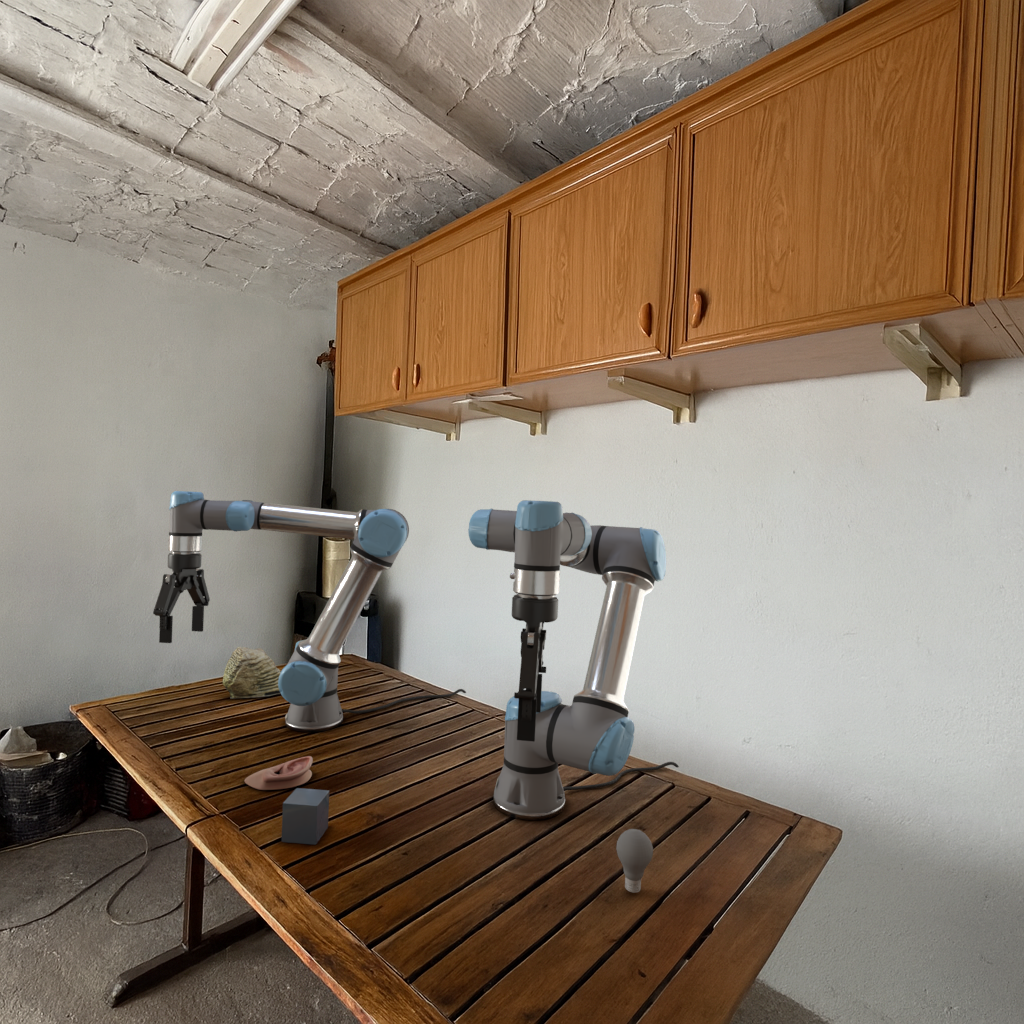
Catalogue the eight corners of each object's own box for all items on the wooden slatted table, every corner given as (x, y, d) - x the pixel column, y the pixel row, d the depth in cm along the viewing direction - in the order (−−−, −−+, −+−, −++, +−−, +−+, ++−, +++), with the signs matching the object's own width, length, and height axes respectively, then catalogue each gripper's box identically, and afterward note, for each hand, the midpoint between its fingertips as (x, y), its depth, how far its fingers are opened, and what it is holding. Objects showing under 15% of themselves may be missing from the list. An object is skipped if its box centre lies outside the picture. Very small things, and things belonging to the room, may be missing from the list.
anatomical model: (236, 768, 136) (267, 748, 147) (235, 786, 136) (266, 765, 148) (292, 776, 134) (319, 755, 145) (291, 794, 134) (319, 772, 145)
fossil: (218, 695, 195) (220, 647, 195) (278, 685, 208) (279, 640, 207) (228, 703, 189) (230, 653, 188) (289, 692, 201) (290, 645, 201)
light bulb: (610, 879, 108) (613, 822, 108) (644, 879, 109) (647, 822, 109) (619, 902, 102) (622, 840, 102) (655, 901, 103) (658, 840, 103)
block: (295, 824, 122) (296, 787, 122) (328, 827, 122) (329, 790, 122) (281, 842, 116) (282, 802, 116) (315, 844, 115) (317, 805, 115)
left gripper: (198, 548, 172) (195, 626, 172) (138, 555, 147) (135, 647, 147) (225, 549, 171) (222, 627, 172) (169, 557, 146) (165, 648, 147)
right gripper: (520, 584, 116) (514, 699, 116) (503, 605, 91) (496, 752, 91) (561, 586, 115) (555, 702, 115) (555, 609, 90) (548, 756, 91)
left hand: (182, 636), depth 159 cm, fingers open, 13 cm apart
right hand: (529, 724), depth 103 cm, fingers open, 13 cm apart
